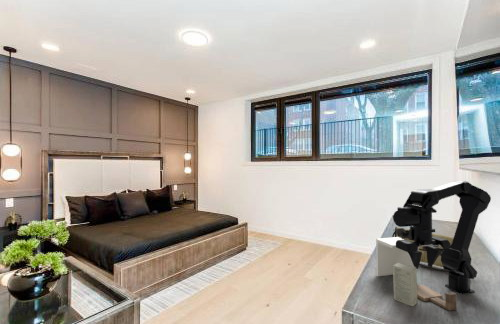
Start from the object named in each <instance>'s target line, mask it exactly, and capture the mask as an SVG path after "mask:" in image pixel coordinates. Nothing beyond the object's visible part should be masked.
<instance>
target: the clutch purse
mask: <svg viewBox="0 0 500 324" xmlns="http://www.w3.org/2000/svg"><path fill="white" fill-rule="evenodd" d="M398 228H400V227H399V226H395V228H394V229H393V230H392V231H393V233H392V235H391V237H398V235H397V229H398ZM404 229H405V230H410V228H404ZM432 237H440V238H443V239H446V240H448V241H449V242H450V245H451V244H452V241H453V238H454V236H449V235H442V234H438V233H432ZM399 238H401V237H399ZM404 239H406V240H408V241H411V242H414V241H413V240H409V239H408V238H404ZM440 248H441V249H443V248H442V246H441V245H440ZM419 251H420V252H422V256H421V260H420V264H419V267H424V268H426V269H430V270H434V271H439V272H444V273H449V272H450V271H448V270H445V269H438V268H434V267H429V266H428V265H427V266H426V265H425V264H428V263H427V251H426V249H425V247H419ZM441 254H442V252H441ZM441 254H440V255H441ZM440 255H439V256H438V258H437V259H436V261H435V262H434V264H433V265H432V266H436V267H440V268H443V265H442V262H441V256H440ZM421 262H422V263H424V265H423V264H421Z"/></svg>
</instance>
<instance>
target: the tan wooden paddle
mask: <svg viewBox="0 0 500 324" xmlns="http://www.w3.org/2000/svg"><path fill="white" fill-rule="evenodd" d="M443 296H444V297H445V300H443V298H444V297H443ZM417 299H420V300H421V301H423V302H428V301H430V302H432V303H434V304H436V305H438V306H440V307H441V308H443V309H444V310H447V311H449V312H450V311H455V310H456V311H457V293H455V292H453V291H451V292H445V295H443V294H441V293H439V292H437V291H435V290H433V289H431V288H429V287H428V286H425V285H424V284H419V285H418V284H417Z"/></svg>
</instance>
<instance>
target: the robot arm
mask: <svg viewBox="0 0 500 324" xmlns="http://www.w3.org/2000/svg"><path fill="white" fill-rule="evenodd" d="M452 196H453V197H454V196H456V197H457V198H459V205H460V207H461V212H460V216H459V219H458V222H457V225H456V229H455V232H454V236H453V237H454V238H453V241H452V244H451V245H450V242H449V241H448V240H446V239H443V238H440V237H432V234H433V233H436V229H435V228H433V214H435V213H437V209H435V208H434V206H436V205H439V202H440V201H441V200H443V199H446V198H450V197H452ZM491 199H492V197H491V195H490V194H489V193H488V192H487V191H485V190H484V189H482V188H480V187H478V186H476V185H473V184H471V183H470V182H468V181H466V180H454V181H451V182H449V183H446V184H442V185H439V186H436V187H433V188H426V189H425V188H424V189H413V190H411V192H410V194H409V196H408V197H407V199H406V201H405V203H404V204H403V206H398V207H397V208H396V209H397V210H396V211H394V213H393V215H392V220H393V223H394V224H395V225H396V227H399V228H398V229H397V235H398V237H401V238H402V239H404V238H408V239H409V240H413V241H414V242H411V241H408V240H406V239H404V240H397V241H396V248H399V249H401V250H403V251H406V252H408V253H409V255H410V257H411V260H412V262H413V265H414V267H416V270H418V269H419V267H420V265H419V264H421V262H420V260H421V256H422V252H420V251H419V247H425V249H426V251H427V263H426V264H427V267H431V268H433V266H434V265H433V264H434V262H435V261H436V259H437V258H438V256H439V255H440V254H441V252H442V254H441V255H440V256H441V262H442V265H443V267H442V268H443V270H444V271H450V272H448V279H447V280H448V281H447V282H448V284H444V287H445V288H448V289H449V290H452V291H454V292H456V293H458V294H460V295H467V294H473V293H476V291H475V290H473V289H471V280H474V279H475V278H477V274H478V270H476V268H474V266H473V265H472V256H471V254H470V252H469V249H470V245H471V242H472V238H473V235H474V231H475V230H476V225H477V222H478V219H479V216H480V215H481V214H482V213H483V212H484V211H486V210H487V209H488V207H489V204H490V203H491ZM405 227H409V229H410V230H405V229H406V228H405ZM440 245H441V246H442V248H443V249H441V248H440Z"/></svg>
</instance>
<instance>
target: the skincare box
mask: <svg viewBox="0 0 500 324" xmlns="http://www.w3.org/2000/svg"><path fill="white" fill-rule="evenodd" d="M417 279H418V278H417V269H416V267H413V266H409V265H406V264H402V263H398V262H397V263H396V264H394V265H393V275H392V280H393V300H395V301H398V302H400V303H403V304H405V305H407V306H411V307H414V306H416V304H417V303H418V301H419V300H418V297H417V285H418V281H417Z"/></svg>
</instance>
